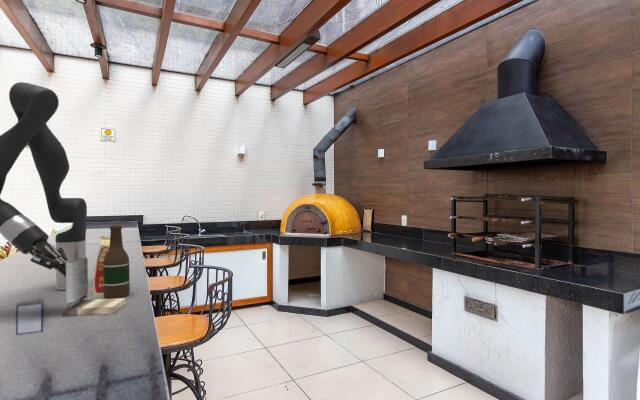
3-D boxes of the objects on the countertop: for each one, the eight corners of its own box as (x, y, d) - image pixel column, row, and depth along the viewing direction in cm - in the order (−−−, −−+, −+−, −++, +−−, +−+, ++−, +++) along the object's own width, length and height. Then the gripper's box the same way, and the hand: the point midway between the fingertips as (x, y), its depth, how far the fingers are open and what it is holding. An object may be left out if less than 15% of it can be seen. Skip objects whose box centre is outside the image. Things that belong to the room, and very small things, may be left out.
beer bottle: (134, 294, 124) (134, 224, 124) (113, 300, 117) (112, 226, 117) (119, 292, 128) (118, 224, 127) (98, 297, 121) (97, 225, 120)
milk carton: (93, 296, 123) (92, 237, 123) (95, 289, 131) (94, 234, 131) (123, 292, 127) (123, 235, 127) (124, 286, 135) (123, 233, 135)
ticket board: (61, 316, 102) (61, 309, 102) (77, 306, 111) (77, 300, 111) (113, 313, 104) (113, 306, 104) (125, 304, 113) (125, 297, 113)
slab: (66, 307, 102) (65, 262, 102) (82, 298, 111) (81, 257, 111) (72, 307, 102) (72, 262, 102) (87, 298, 111) (87, 257, 111)
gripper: (28, 240, 110) (73, 279, 112) (-3, 246, 97) (48, 290, 99) (47, 223, 111) (91, 261, 113) (18, 226, 98) (69, 269, 100)
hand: (71, 274), depth 106 cm, fingers closed
